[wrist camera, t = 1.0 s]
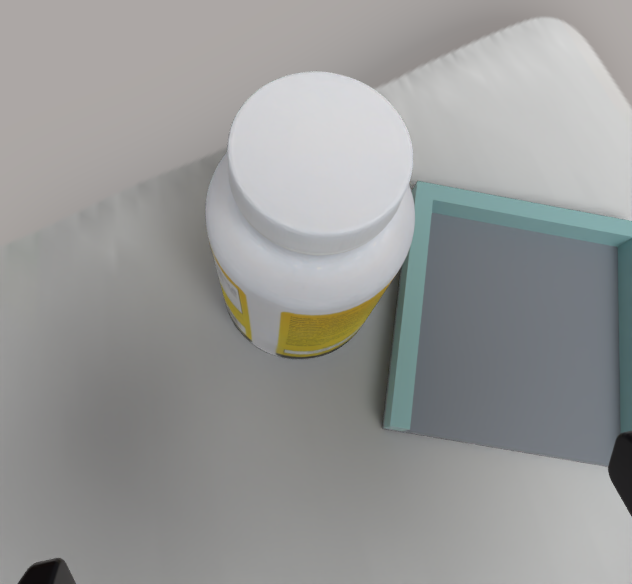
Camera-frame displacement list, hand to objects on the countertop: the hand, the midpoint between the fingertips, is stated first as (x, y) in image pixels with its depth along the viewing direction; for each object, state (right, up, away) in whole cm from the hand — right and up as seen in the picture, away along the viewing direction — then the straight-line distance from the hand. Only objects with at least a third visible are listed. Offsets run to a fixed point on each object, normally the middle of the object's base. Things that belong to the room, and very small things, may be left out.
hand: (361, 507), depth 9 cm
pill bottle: (-2, +3, +16) cm, 16 cm away
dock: (+8, +2, +16) cm, 18 cm away
